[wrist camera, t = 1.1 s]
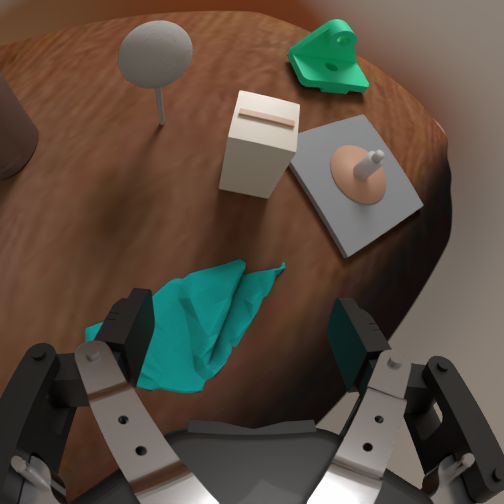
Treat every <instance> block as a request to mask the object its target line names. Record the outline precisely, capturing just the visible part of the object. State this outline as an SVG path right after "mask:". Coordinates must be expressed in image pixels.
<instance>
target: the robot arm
mask: <svg viewBox="0 0 504 504" xmlns="http://www.w3.org/2000/svg"><path fill="white" fill-rule="evenodd" d="M37 141H38V130H37V128H36V126H35V125H34V123H33V122H32V120H31V119H30V117H29V116H28V114H27V113H26V111H25V110H24V108H23V107H22V105H21V104H20V102H19V100H18V99H17V97H16V96H15V94H14V93H13V91H12V89H11V88H10V86H9V85H8V83H7V81H6V80H5V78H4V76H3V74H2V73H1V71H0V179H3V178H8V177H10V176H12V175H14V174H15V173H17V172H18V171H19V170H20V169H21V168H22V167H23V166H24V165H25V164H26V163H27V161H28V160H29V159H30V157H31V155H32V154H33V152H34V150H35V147H36V145H37ZM154 329H155V316H154V308H153V299H152V292H151V290H150V289H140V288H133V290H132V291H131V293H130V295H129V297H128V298H127V299H125V298H122V299H120V300H119V301H118V302H116V303H115V304H114V305H113V306H112V308H111V310H110V311H109V313H108V315H107V317H106V320H104V322H103V324H102V325H101V327H100V329H99V331H98V332H97V334H96V336H95V338H94V340H93V341H88V342H85V343H83V344H82V345H80V346H79V347H78V348H77V350H76V352H75V353H69V354H57V353H56V351H55V349H54V347H53V346H51V345H50V344H47V343H40V344H36V345H34V346H32V347H31V348H29V349H28V350H27V352H26V353H25V355H24V357H23V358H22V360H21V362H20V363H19V365H18V367H17V369H16V370H15V372H14V374H13V376H12V378H11V379H10V381H9V383H8V385H7V387H6V389H5V391H4V393H3V394H2V396H1V398H0V504H68V503H67V501H66V497H65V485H64V482H63V481H62V479H61V478H60V477H59V476H58V471H59V467H60V463H61V459H62V455H63V452H64V448H65V444H66V441H67V438H68V434H69V431H70V428H71V424H72V421H73V418H74V415H75V412H76V409H77V407H81V406H91V408H92V411H93V413H94V415H95V418H96V420H97V422H98V425H99V427H100V429H101V431H102V433H103V435H104V438H105V440H106V442H107V444H108V446H109V448H110V450H111V452H112V454H113V456H114V458H115V459H116V461H117V463H118V465H119V467H120V468H119V469H117V470H116V471H115V472H113V473H112V474H110V475H109V476H108V477H106V478H105V479H104V480H102V481H101V482H99V483H98V484H96V485H95V486H94V487H92V488H91V489H89V490H88V491H86V492H85V493H83V494H82V495H80V496H79V497H77V498H76V499H74V500H73V501H72V502H71V503H70V504H483V503H484V502H486V501H488V500H489V499H491V498H492V497H494V496H495V495H497V494H498V493H500V492H501V491H503V490H504V454H503V452H502V450H501V448H500V446H499V444H498V442H497V440H496V438H495V436H494V434H493V432H492V430H491V428H490V426H489V424H488V422H487V420H486V419H485V417H484V415H483V413H482V411H481V410H480V408H479V406H478V404H477V402H476V401H475V399H474V397H473V396H472V394H471V392H470V391H469V389H468V387H467V386H466V384H465V382H464V381H463V379H462V377H461V376H460V374H459V373H458V371H457V369H456V368H455V366H454V365H453V364H452V363H451V361H449V360H448V359H446V358H444V357H441V356H433V357H431V358H430V359H429V361H428V362H427V364H426V365H420V364H412V363H411V362H410V360H409V358H408V357H407V356H406V355H405V354H403V353H402V352H399V351H396V350H392V349H391V348H390V346H389V344H388V342H387V341H386V339H385V337H384V336H383V334H382V332H381V331H379V328H378V326H377V325H376V323H375V321H374V320H373V318H372V316H371V315H369V314H368V313H367V312H366V311H364V310H363V309H359V307H358V305H357V304H356V302H355V300H354V299H344V298H338V299H336V300H335V302H334V306H333V309H332V313H331V316H330V320H329V323H328V328H327V337H328V341H329V343H330V346H331V348H332V351H333V353H334V356H335V358H336V361H337V364H338V366H339V369H340V371H341V374H342V377H343V379H344V382H345V385H346V387H347V390H348V393H350V392H359V395H360V396H359V398H358V399H357V401H356V403H355V405H354V407H353V410H352V412H351V414H350V416H349V418H348V420H347V422H346V424H345V426H344V428H343V429H342V431H341V433H340V435H338V434H335V433H333V432H330V431H327V430H324V429H319V428H316V427H315V423H314V420H306V421H292V422H282V423H278V424H274V425H270V426H266V427H262V428H258V429H249V428H244V427H239V426H235V425H231V424H227V423H223V422H212V421H198V420H189V425H188V428H184V429H179V430H175V431H172V432H169V433H167V434H165V435H162V434H161V432H160V431H159V429H158V428H157V426H156V425H155V423H154V422H153V420H152V419H151V417H150V416H149V414H148V412H147V411H146V409H145V408H144V406H143V404H142V403H141V401H140V399H139V398H138V396H137V394H136V392H135V391H134V389H133V387H136V386H137V383H138V379H139V376H140V373H141V370H142V366H143V363H144V360H145V357H146V354H147V351H148V348H149V345H150V342H151V339H152V336H153V333H154ZM436 402H437V404H438V406H439V408H440V410H441V412H442V416H443V419H442V423H441V422H440V420H439V418H438V415H437V413H436V411H435V409H434V407H433V405H434V404H435V403H436ZM403 417H404V419H405V422H406V424H407V427H408V429H409V432H410V434H411V437H412V440H413V443H414V445H415V448H416V451H417V454H418V456H419V459H420V462H421V465H422V468H423V471H424V474H425V477H424V479H423V483H422V488H421V490H420V489H418V488H417V487H415V486H413V485H412V484H410V483H408V482H407V481H405V480H404V479H402V478H401V477H399V476H398V475H396V474H394V473H393V472H391V471H390V470H388V469H387V468H386V466H387V463H388V461H389V458H390V455H391V452H392V450H393V447H394V444H395V441H396V438H397V435H398V432H399V429H400V425H401V422H402V419H403Z"/></svg>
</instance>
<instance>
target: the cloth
mask: <svg viewBox="0 0 504 504" xmlns="http://www.w3.org/2000/svg"><path fill="white" fill-rule="evenodd" d="M284 268H285V263H284V262H283V264H282V266H281V268H278V269H272V270H266V271H260V272H255V273H250V274H246V275H243V273H244V271H245V269H246V263H245V262H244V261H242V260H241V259H238V260H235V261H232V262H229V263H227V264H224V265H220V266H216V267H213V268H209V269H205V270H201V271H198V272H194V273H190V274H189V275H188V276H187V277H185V278H184V279H174V280H172V281H170V282H168V283H167V284H166V285H165V286H164V287H163V288H161V289H160V290H159V291H158V292H157V293H156V294H155V295H154V296H153V297H152V299H153V308H154V316H155V329H154V333H153V336H152V339H151V342H150V345H149V348H148V351H147V354H146V357H145V360H144V363H143V366H142V370H141V373H140V376H139V379H138V383H137V387H140V388H144V389H148V390H156V389H158V388H160V389H164V390H169V391H174V392H179V393H195V392H199V391H202V389H203V386H204V383H205V381H206V380H209V379H211V378H213V377H214V376H215V375H216V373H217V372H218V371H219V370H220V369H221V368H222V366H223V365H224V364H225V363H226V362H225V361H226V360H227V358H228V356H229V355H230V353H231V350H232V346H237V345H238V343H239V341H240V339H241V338H242V336H243V334H244V333H245V331H246V330H247V328H248V327H249V326H250V324H251V321H252V320H253V318H254V316H255V315H256V313H257V312H258V309H259V307H260V304H261V302H262V299H263V297H265V296H267V295H268V293H269V291H270V290H271V287H272V285H273V283H274V280H275V277H276V275H278V274H279V273H280V272H281V271H282V270H283V269H284ZM102 324H103V322H102V323H99V324H96V325H93V326H91V327H88V328H86V329H85V333H86V342H88V341H93V340H94V338H95V336H96V334H97V332H98V331H99V329H100V327H101V325H102Z"/></svg>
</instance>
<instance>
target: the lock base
mask: <svg viewBox="0 0 504 504" xmlns="http://www.w3.org/2000/svg"><path fill="white" fill-rule="evenodd" d="M288 166H289V168H290V169H291V171H292V172H293V174H294V176H295V177H296V179H297V180H298V182H299V183H300V185H301V187H302V188H303V190H304V191H305V193H306V195H307V196H308V198H309V199H310V201H311V203H312V204H313V206H314V208H315V209H316V211H317V213H318V214H319V216H320V218H321V219H322V221H323V223H324V224H325V226H326V228H327V229H328V231H329V233H330V235H331V236H332V238H333V240H334V242H335V243H336V245H337V247H338V249H339V250H340V252H341V254H342V256H343V258H344V259H345V258H347V257H349V256H351V255H352V254H354V253H355V252H357V251H358V250H360V249H361V248H363V247H364V246H366V245H367V244H369V243H370V242H372V241H373V240H375V239H376V238H378V237H379V236H381V235H382V234H384V233H385V232H387V231H388V230H389V229H391V228H392V227H394V226H395V225H397V224H398V223H399V222H401V221H402V220H404V219H405V218H407V217H408V216H409V215H411V214H412V213H414V212H415V211H416V210H418V209H419V208H421V207H422V206H423V204H422V202H421V200H420V198H419V197H418V195H417V193H416V191H415V190H414V188H413V186H412V185H411V183H410V181H409V180H408V178H407V176H406V175H405V173H404V171H403V170H402V168H401V167H400V165H399V164H398V162H397V161H396V159H395V157H394V156H393V154H392V153H391V151H390V150H389V149H388V147H387V146H386V144H385V143H384V141H383V140H382V139H381V137H380V136H379V134H378V133H377V132H376V130H375V129H374V127H373V126H372V125H371V123H370V122H369V121H368V120H367V118H366V117H365V116H364V114H363V115H359V116H355V117H352V118H348V119H344V120H341V121H337V122H334V123H330V124H327V125H324V126H320V127H317V128H314V129H311V130H308V131H304V132H301V133H298V136H297V149H296V153H295V155H294V157H293V158H292V160H291V162H290V163H289V165H288Z"/></svg>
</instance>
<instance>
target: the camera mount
mask: <svg viewBox="0 0 504 504" xmlns="http://www.w3.org/2000/svg"><path fill="white" fill-rule="evenodd" d="M356 42H357V37H356V35H355V34H354V32H353V31H352V30H351V28H350V27H349V26H348V25H347V23H346V22H344V21H342V20H338V19H336V20H331V21H329V22H327V23H325V24H324V25H322V26H321V27H319V28H318V29H317V30H315V31H314V32H312V33H311V34H309V35H308V36H307V37H305V38H304V39H302V40H301V41H300V42H298V43H297V44H296V45H294V46H293V47H291V48H290V49H289V52H288V55H287V56H288V58H289V60H290V62H291V64H292V67H293V69H294V71H295V73H296V75H297V77H298V80H299V82H300V83H301V84H302V85H304V86H306V87H318V88H320V90H321V92H331V93H341V94H347V93H348V91H355V92H365V90H366V89H367V88H368V86H369V83H368V81H367V80H366V78H365V76H364V74H363V73H362V71H361V70H360V68H359V66H358V65H357V63H356V55H355V48H354V45H355V44H356Z"/></svg>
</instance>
